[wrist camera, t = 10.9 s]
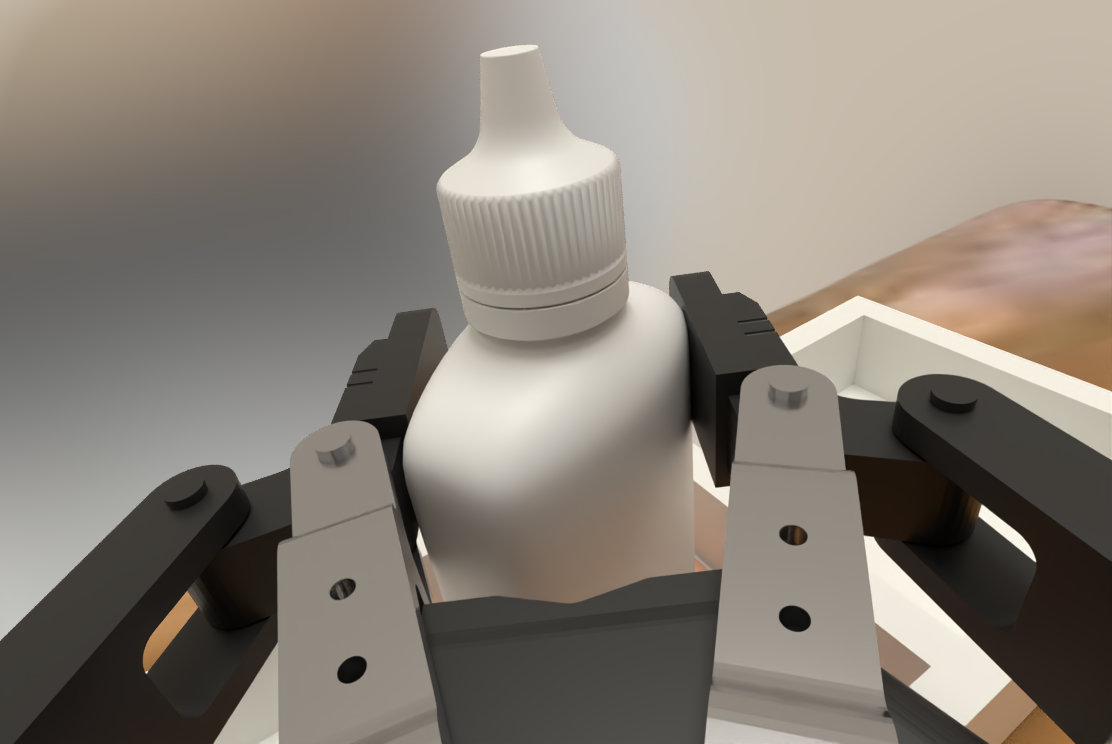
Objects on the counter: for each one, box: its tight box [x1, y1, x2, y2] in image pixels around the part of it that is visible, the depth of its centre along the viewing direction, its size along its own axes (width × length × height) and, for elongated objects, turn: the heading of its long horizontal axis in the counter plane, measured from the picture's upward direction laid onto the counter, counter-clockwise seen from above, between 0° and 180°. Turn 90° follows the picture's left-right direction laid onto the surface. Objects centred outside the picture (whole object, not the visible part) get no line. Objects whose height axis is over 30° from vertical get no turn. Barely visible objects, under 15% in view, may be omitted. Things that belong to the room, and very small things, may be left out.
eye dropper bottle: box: [403, 45, 695, 603], centre depth 11 cm, size 4×6×12 cm
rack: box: [145, 296, 1112, 744], centre depth 15 cm, size 31×11×4 cm, turn 122°
